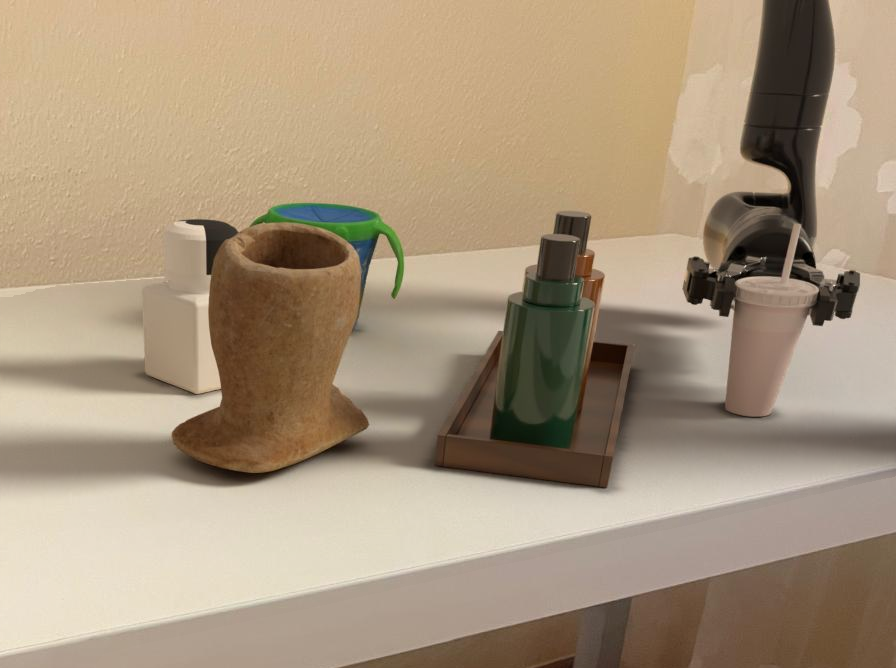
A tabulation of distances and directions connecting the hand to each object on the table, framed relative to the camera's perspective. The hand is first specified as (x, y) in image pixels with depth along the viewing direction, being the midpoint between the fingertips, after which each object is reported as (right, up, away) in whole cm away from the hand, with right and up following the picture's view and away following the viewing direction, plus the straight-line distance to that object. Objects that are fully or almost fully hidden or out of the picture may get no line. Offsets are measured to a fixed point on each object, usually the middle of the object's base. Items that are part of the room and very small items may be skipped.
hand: (774, 307), depth 92 cm
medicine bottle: (-45, -3, +9) cm, 46 cm away
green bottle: (-20, -12, -4) cm, 23 cm away
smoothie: (+1, -6, +7) cm, 9 cm away
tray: (-17, -7, +4) cm, 19 cm away
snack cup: (-35, +8, +24) cm, 43 cm away
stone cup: (-38, -13, -6) cm, 40 cm away
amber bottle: (-17, -6, +4) cm, 18 cm away
